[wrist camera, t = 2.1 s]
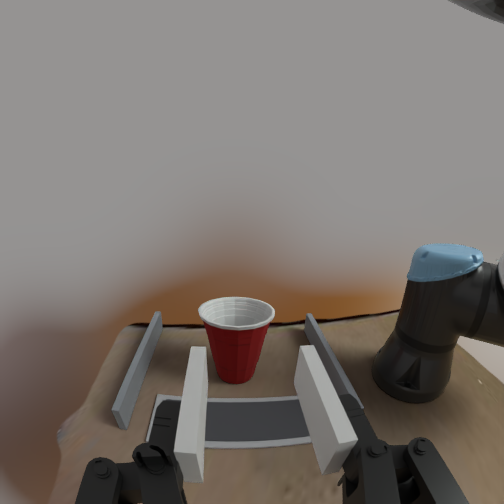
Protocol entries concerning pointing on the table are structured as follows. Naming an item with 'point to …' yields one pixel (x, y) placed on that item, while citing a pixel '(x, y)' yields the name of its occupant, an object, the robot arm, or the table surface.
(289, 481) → the table surface
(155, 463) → the robot arm
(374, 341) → the table surface
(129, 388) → the guide rails
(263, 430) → the pad
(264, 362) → the table surface
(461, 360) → the table surface
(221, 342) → the plastic cup
